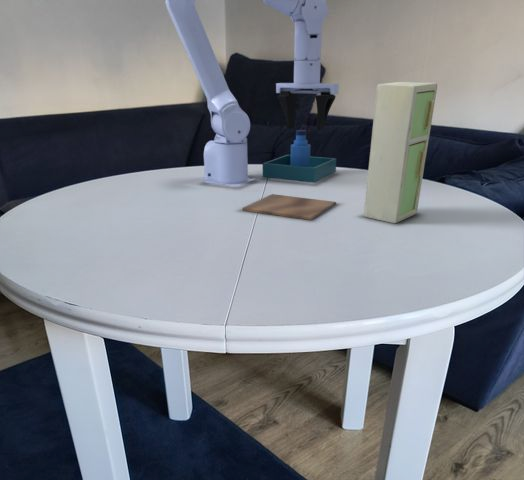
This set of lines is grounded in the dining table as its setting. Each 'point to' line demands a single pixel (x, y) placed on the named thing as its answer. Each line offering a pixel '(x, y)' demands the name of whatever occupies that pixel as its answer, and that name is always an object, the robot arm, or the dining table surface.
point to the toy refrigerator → (398, 149)
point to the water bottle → (300, 150)
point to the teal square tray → (299, 169)
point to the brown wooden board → (290, 206)
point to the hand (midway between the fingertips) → (305, 129)
